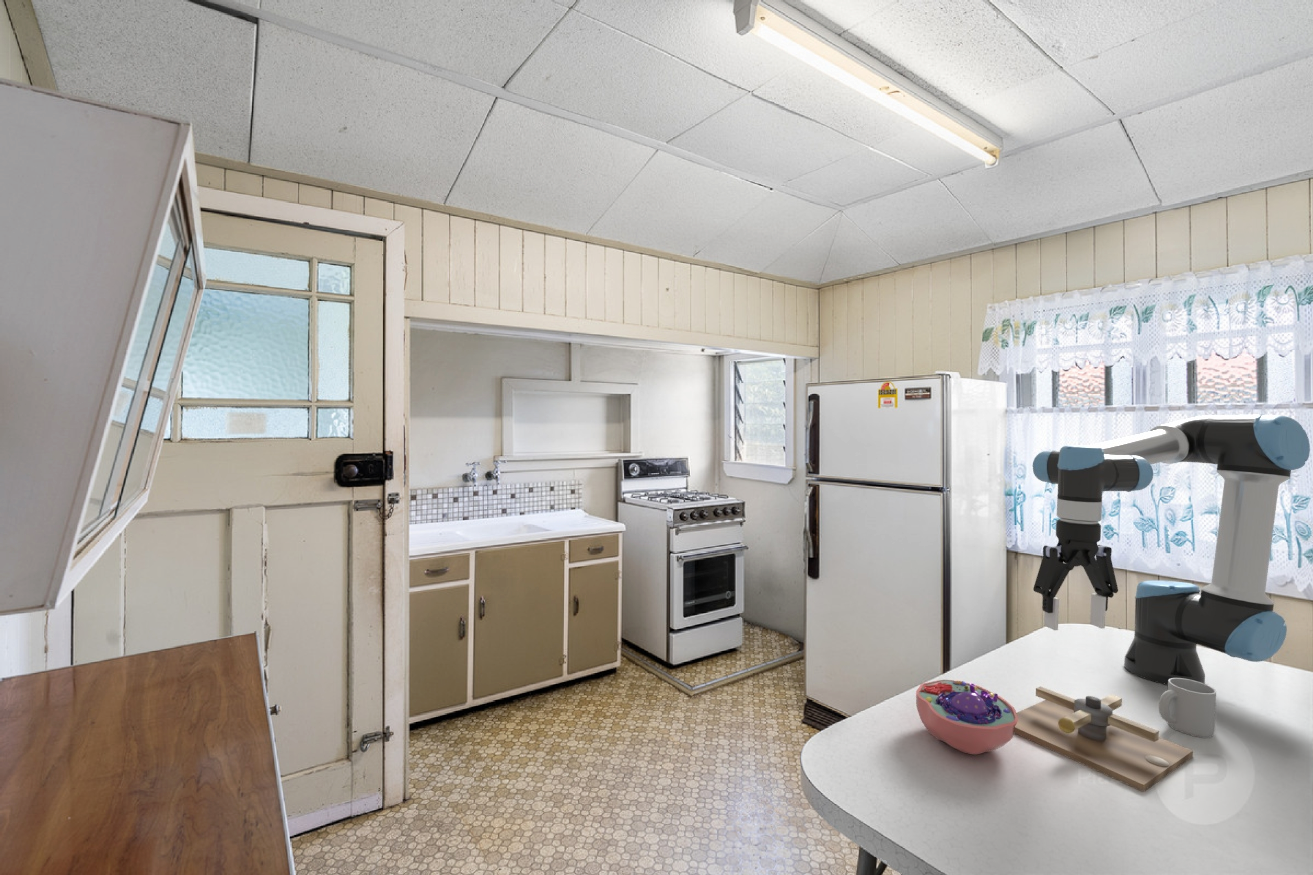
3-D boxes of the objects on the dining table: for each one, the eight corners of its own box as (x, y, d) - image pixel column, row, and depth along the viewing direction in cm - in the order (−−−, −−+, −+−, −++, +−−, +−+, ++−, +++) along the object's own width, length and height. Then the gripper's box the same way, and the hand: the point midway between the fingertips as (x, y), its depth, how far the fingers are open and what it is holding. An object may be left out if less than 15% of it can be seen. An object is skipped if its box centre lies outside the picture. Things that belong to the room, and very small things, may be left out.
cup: (1224, 738, 116) (1226, 694, 115) (1175, 738, 115) (1177, 693, 115) (1190, 719, 123) (1192, 677, 123) (1144, 719, 123) (1145, 677, 122)
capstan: (1062, 686, 128) (1062, 668, 127) (1178, 729, 110) (1179, 708, 110) (1007, 710, 117) (1008, 691, 116) (1127, 761, 99) (1128, 739, 99)
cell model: (1000, 725, 119) (1002, 670, 119) (1027, 782, 100) (1029, 717, 100) (910, 710, 125) (912, 658, 125) (920, 762, 106) (922, 700, 106)
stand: (1052, 701, 130) (1053, 683, 130) (1192, 756, 109) (1193, 734, 109) (999, 725, 119) (999, 705, 119) (1143, 791, 98) (1144, 767, 98)
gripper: (1110, 516, 126) (1106, 619, 126) (1015, 517, 123) (1011, 622, 123) (1144, 523, 118) (1139, 631, 119) (1043, 524, 115) (1039, 635, 116)
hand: (1074, 626), depth 121 cm, fingers open, 10 cm apart
